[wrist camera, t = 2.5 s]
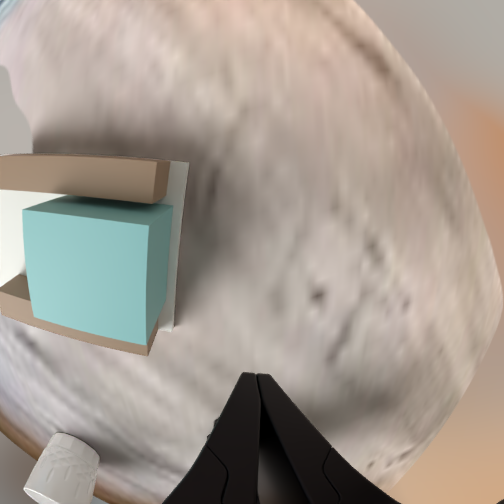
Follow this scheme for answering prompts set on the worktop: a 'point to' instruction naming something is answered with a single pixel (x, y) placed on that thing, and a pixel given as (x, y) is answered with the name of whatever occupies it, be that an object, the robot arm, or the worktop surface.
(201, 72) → the worktop surface
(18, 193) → the chute
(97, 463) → the white cup
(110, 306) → the block
